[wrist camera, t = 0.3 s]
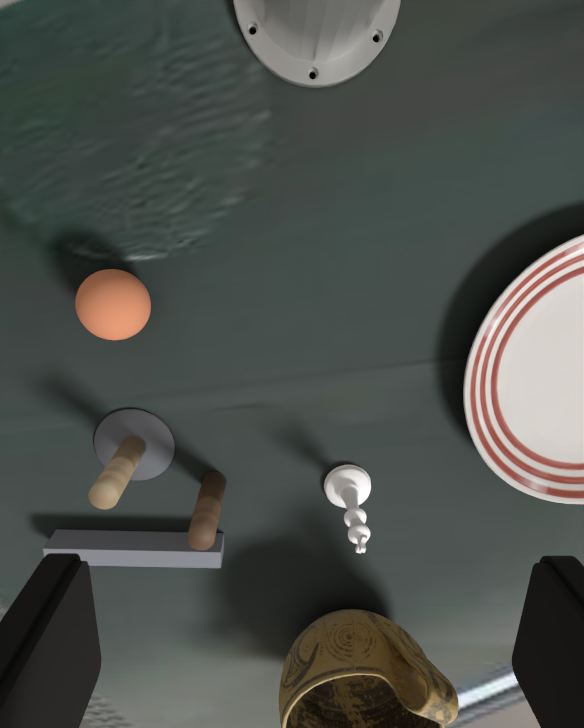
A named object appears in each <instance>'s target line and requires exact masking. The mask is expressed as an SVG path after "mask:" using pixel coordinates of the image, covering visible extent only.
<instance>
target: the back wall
mask: <svg viewBox="0 0 584 728" xmlns="http://www.w3.org/2000/svg"><path fill="white" fill-rule="evenodd" d="M187 534H188V532H148V531H105V530H62V529H56V531H55V532H54V534H53V535H52V537H51V538H50V539H49V541H48V542H47V544H46V545H45V547H44V548H43V551H44V557H45V556H46V555H47V554H49V553H77V554H79V556H80V559H81V561H87V562H88V565H91V566H140V567H189V568H221V564H222V558H223V552H224V533H216V536H215V541H214V544H213V545H212V547H210V548H209V549H207V550H196V549H193V548H192V547H191V546H190V545H189V544H188V542H187Z"/></svg>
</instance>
